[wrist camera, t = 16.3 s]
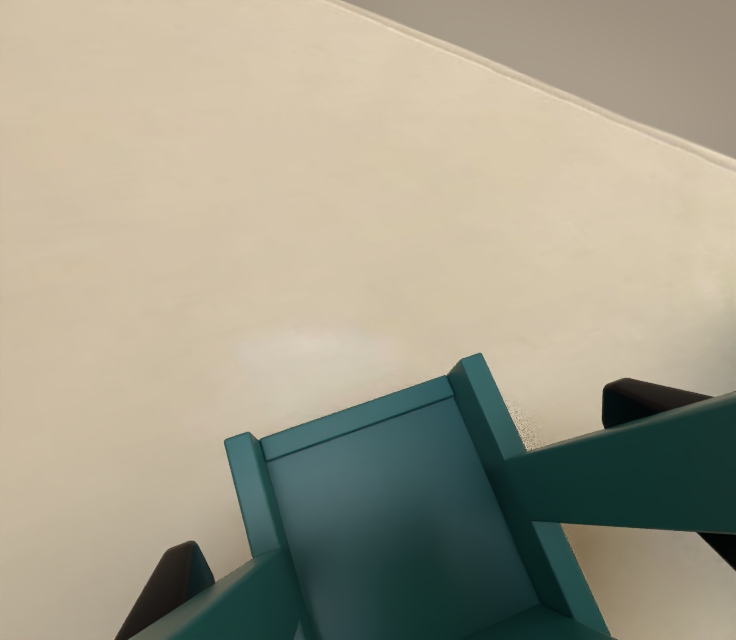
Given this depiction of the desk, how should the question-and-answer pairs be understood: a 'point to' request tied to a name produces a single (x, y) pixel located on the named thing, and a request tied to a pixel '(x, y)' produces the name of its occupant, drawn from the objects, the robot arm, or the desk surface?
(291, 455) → the tray with tall posts
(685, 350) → the desk surface
